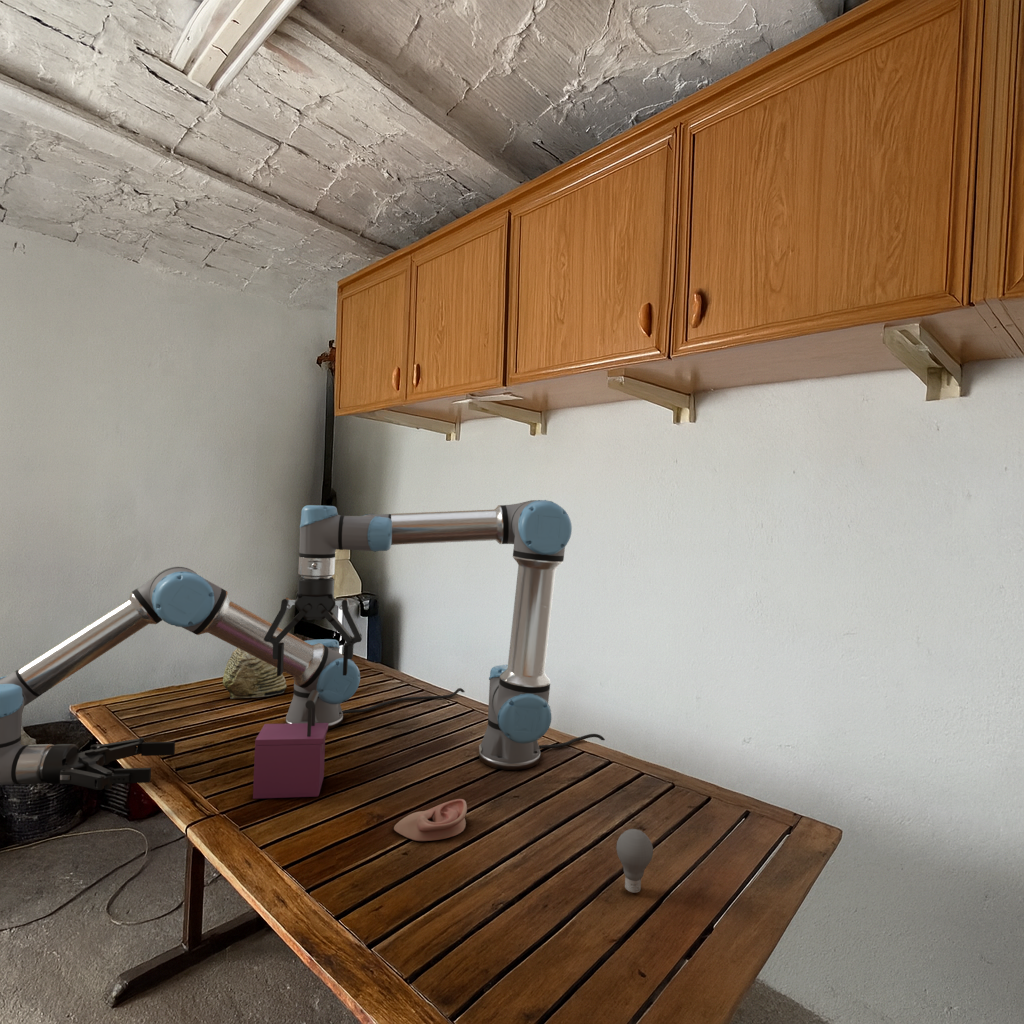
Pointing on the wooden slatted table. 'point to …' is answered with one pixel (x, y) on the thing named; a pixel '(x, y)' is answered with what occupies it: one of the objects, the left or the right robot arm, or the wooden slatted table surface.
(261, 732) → the lid
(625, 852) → the light bulb
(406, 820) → the anatomical model
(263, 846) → the wooden slatted table surface
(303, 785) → the chest
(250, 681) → the fossil
